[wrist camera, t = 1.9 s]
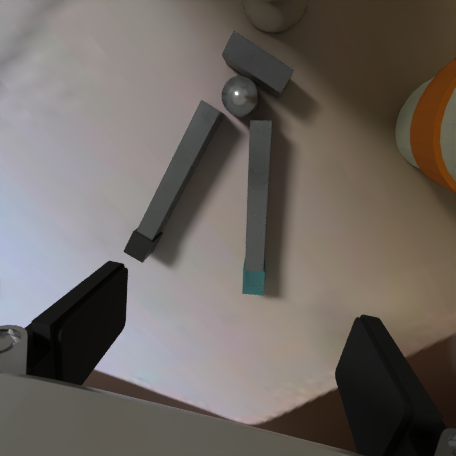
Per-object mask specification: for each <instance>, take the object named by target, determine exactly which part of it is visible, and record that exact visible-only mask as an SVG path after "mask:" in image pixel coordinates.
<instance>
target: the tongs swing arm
mask: <svg viewBox="0 0 456 456" xmlns="http://www.w3.org/2000/svg"><path fill="white" fill-rule="evenodd" d="M222 102H223V105H224V107H225V108H226V109H227V111H229V112H230V113H231V114H233V115H234V116H236V117H239V118H244V117H248V116H250V115H251V114H252V113H253V112H254V111H255V110H256V108H257V105H258V93H257V88H256V86H255V84H254V83H253V81H252V80H250V79H249V78H247V77H245V76H236V77H233V78H231V79H230V80H229V81H228V82H227V83H226V84H225V86H224V88H223V91H222ZM271 129H272V121H254V120H250V140H249V169H248V199H247V228H246V258H245V262H244V269H243V294H254V295H264V280H265V260H264V249H265V232H266V215H267V198H268V180H269V163H270V146H271Z"/></svg>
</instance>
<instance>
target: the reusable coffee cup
mask: <svg viewBox="0 0 456 456" xmlns="http://www.w3.org/2000/svg"><path fill="white" fill-rule="evenodd" d="M395 139H396V144H397V147H398V149H399V151H400V153H401V155H402V156H403V157H404V159H405V160H406V161H408V162H409V163H410V164H411V165H413V166H415V167H417V168H419V169H421V170H422V172H423V173H424V174H425V175H426V176H427V177H429V178H430V179H431V180H432V181H434V182H435V183H437V184H439V185H441V186H443V187H445V188H447V189H449V190H451V191H452V192H454V193H456V58H455V59H454V60H453V61H452V62H450V63H449V64H448V65H447V66H446V67H444V68H443V69H442V70H441V71H440V72H439V73H438V74H437V75H436V76H435V77H433V78H432V79H430V80H428V81H426V82H425V83H423V84H422V85H421V86H420V87H418V88H417V89H416V90H415V91H414V92H413V93H412V94H411V95H410V96H409V97H408V99H407V100H406V102H405V103H404V105H403V106H402V108H401V110H400V113H399V115H398V118H397V122H396V126H395Z"/></svg>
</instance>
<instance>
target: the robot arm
mask: <svg viewBox="0 0 456 456" xmlns="http://www.w3.org/2000/svg"><path fill="white" fill-rule="evenodd" d="M127 281H128V269H127V268H125V266H124V264H122V263H118V262H113V261H108V262H107V263H105V264H104V265H103V266H102V267H100V268H99V269H98V270H97V271H95V272H94V273H93V274H91V275H90V276H89V277H88V278H86V279H85V280H84V281H82V282H81V283H80V284H79V285H77V286H76V287H75V288H74V289H72V290H71V291H70V292H68V293H67V294H66V295H65V296H63V297H62V298H61V299H59V300H58V301H57V302H56V303H54V304H53V305H52V306H50V307H49V308H48V309H47V310H45V311H44V312H43V313H42V314H40V315H39V316H38V317H36V318H35V319H34V320H33V321H32V323H31V324H29V325H28V326H27V327H25V328H23V327H20V326H17V325H5V326H0V456H456V429H453V428H449V429H447V428H446V427H445V425H444V423H443V421H442V418H443V417H442V415H441V413H440V412H439V410H438V409H437V407H436V406H435V404H434V403H433V401H432V399H431V398H430V396H429V395H428V393H427V392H426V390H425V388H424V387H423V385H422V384H421V382H420V381H419V379H418V378H417V376H416V374H415V373H414V371H413V370H412V368H411V367H410V365H409V364H408V362H407V360H406V359H405V357H404V356H403V354H402V353H401V351H400V350H399V348H398V346H397V345H396V343H395V342H394V340H393V339H392V337H391V336H390V334H389V332H388V331H387V329H386V328H385V326H384V325H383V323H382V322H381V320H380V319H379V318H377V317H372V316H367V315H361V316H360V318H359V317H357V318H356V319H355V321H354V323H353V326H352V329H351V331H350V334H349V336H348V339H347V342H346V344H345V347H344V349H343V352H342V355H341V357H340V360H339V363H338V365H337V368H336V372H335V378H336V382H337V386H338V389H339V392H340V396H341V399H342V402H343V406H344V409H345V413H346V416H347V419H348V423H349V426H350V429H351V433H352V436H353V439H354V443H355V446H356V449H357V453H358V454H357V453H353V452H350V451H346V450H342V449H338V448H334V447H330V446H326V445H322V444H318V443H314V442H311V441H307V440H303V439H299V438H295V437H291V436H287V435H283V434H279V433H275V432H271V431H267V430H263V429H259V428H255V427H251V426H247V425H243V424H239V423H235V422H231V421H227V420H223V419H218V418H215V417H211V416H206V415H202V414H198V413H194V412H190V411H186V410H182V409H178V408H174V407H170V406H166V405H161V404H157V403H153V402H149V401H145V400H141V399H137V398H133V397H128V396H124V395H120V394H116V393H112V392H108V391H103V390H99V389H95V388H90V387H86V386H81V385H82V384H83V383H84V381H85V380H86V379H87V377H88V376H89V375H90V373H91V372H92V371H93V369H94V368H95V367H96V365H97V364H98V363H99V361H100V360H101V359H102V357H103V356H104V355H105V353H106V352H107V350H108V349H109V348H110V346H111V345H112V344H113V342H114V341H115V340H116V338H117V337H118V336H119V334H120V333H121V332H122V330H123V328H124V326H125V322H126V303H127Z"/></svg>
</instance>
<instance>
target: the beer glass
mask: <svg viewBox="0 0 456 456" xmlns="http://www.w3.org/2000/svg"><path fill="white" fill-rule="evenodd" d="M308 2H309V0H242V3H243V7H244V10H245V13H246V15H247V17H248V19H249V20H250V21H251V23H252V24H253V25H254V26H255V27H257V28H258V29H260V30H262V31H265V32H269V33H276V32H281V31H284V30H286V29H288V28H290V27H291V26H293V25H294V24H295V23H296V22H297V21H298V20H299V19H300V17H301V16H302V15H303V13H304V11H305V9H306V7H307V5H308Z"/></svg>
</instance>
